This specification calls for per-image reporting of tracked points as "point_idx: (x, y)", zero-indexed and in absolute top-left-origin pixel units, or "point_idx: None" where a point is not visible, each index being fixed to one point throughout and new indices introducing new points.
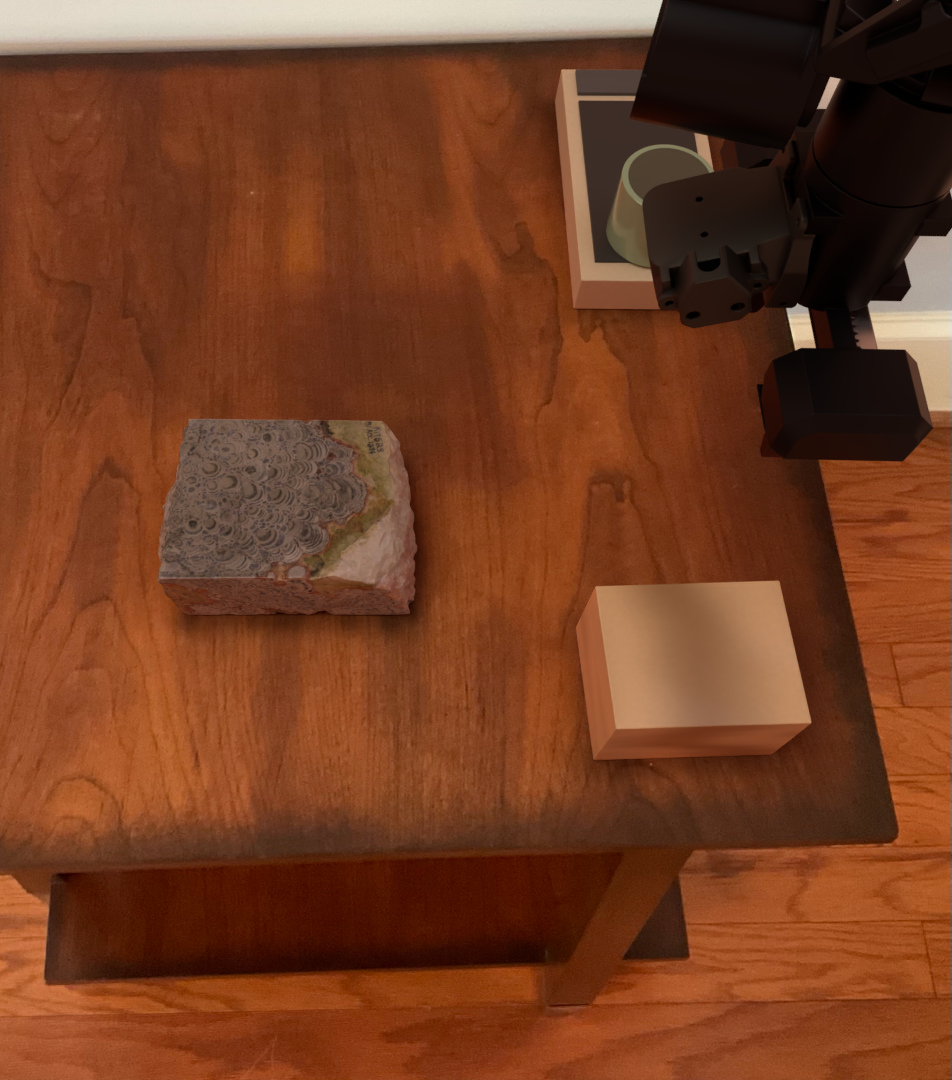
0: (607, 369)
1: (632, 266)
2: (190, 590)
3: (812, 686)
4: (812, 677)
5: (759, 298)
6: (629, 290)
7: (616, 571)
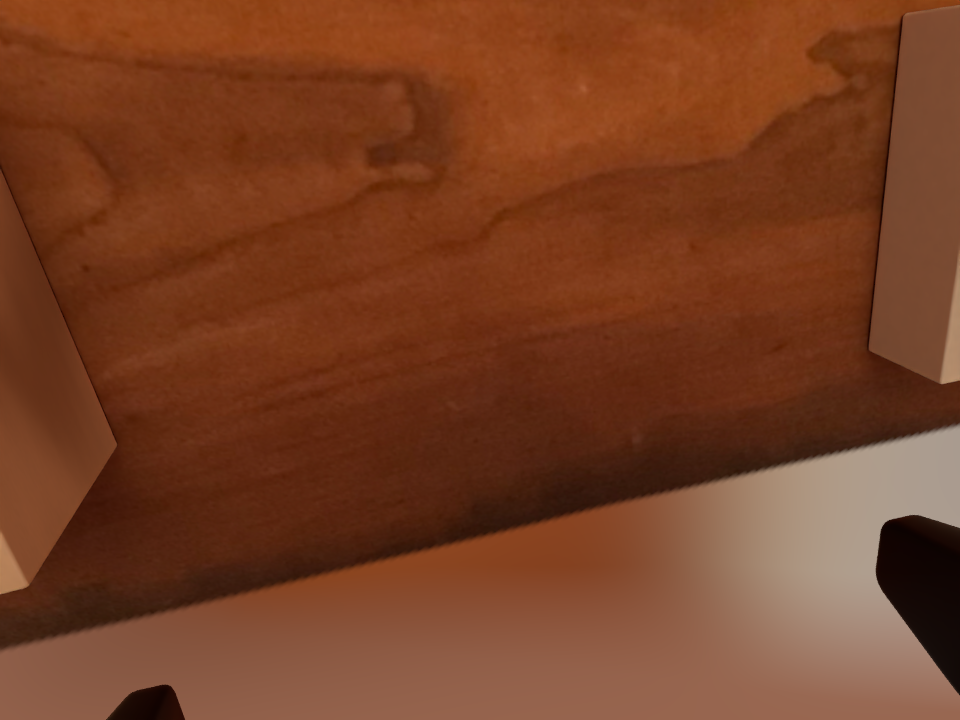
0: (731, 110)
1: None
2: None
3: None
4: None
5: (951, 631)
6: (944, 146)
7: (164, 157)
